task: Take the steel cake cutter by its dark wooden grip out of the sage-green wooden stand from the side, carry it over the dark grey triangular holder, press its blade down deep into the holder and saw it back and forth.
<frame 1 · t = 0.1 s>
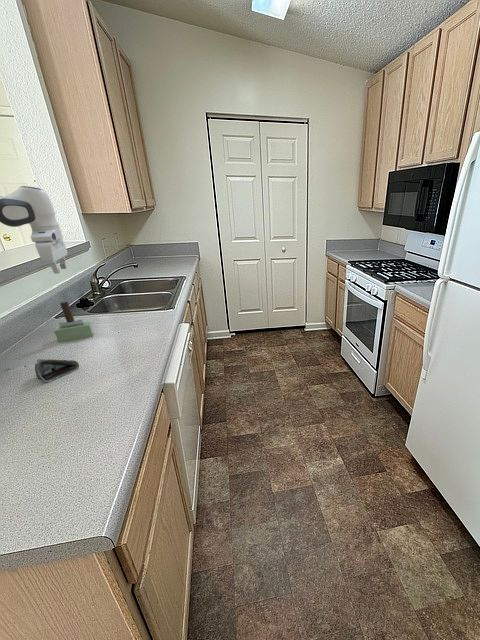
hand: (60, 270, 133), 26 cm above the counter, tool pointing down, fingers open, 8 cm apart
cake cutter: (76, 337, 136), point 1 cm above the counter, touching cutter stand
dark grey triangular holder: (56, 373, 111), on the counter
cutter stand: (77, 339, 136), on the counter
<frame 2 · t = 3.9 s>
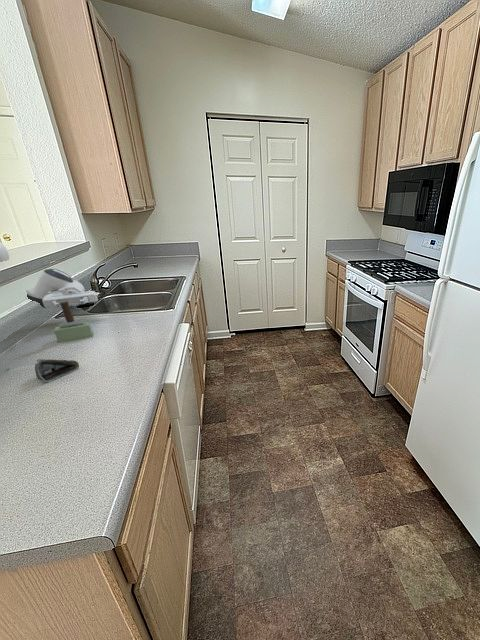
hand: (69, 303, 140), 12 cm above the counter, tool horizontal, fingers open, 8 cm apart
nothing on the counter moved.
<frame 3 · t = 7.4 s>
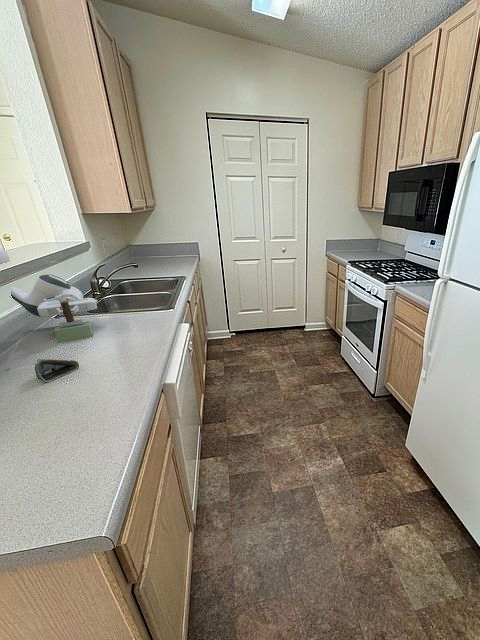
hand: (67, 312, 130), 12 cm above the counter, tool horizontal, fingers closed on cake cutter, 2 cm apart
cake cutter: (76, 337, 136), point 1 cm above the counter, touching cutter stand, gripper
everything else where it was.
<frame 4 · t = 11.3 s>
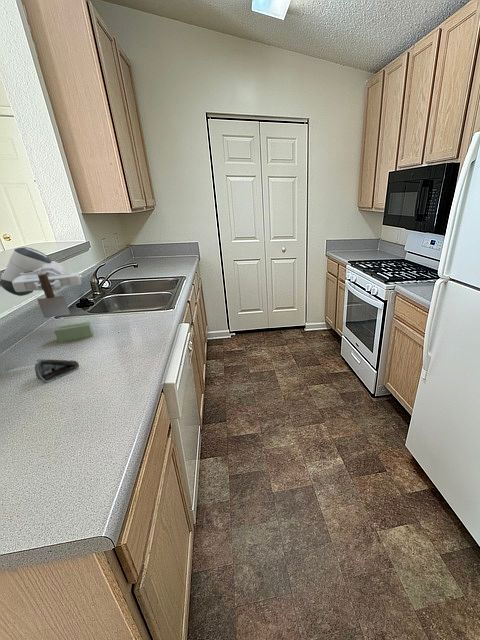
hand: (46, 286, 115), 25 cm above the counter, tool horizontal, fingers closed on cake cutter, 2 cm apart
cake cutter: (57, 316, 120), point 14 cm above the counter, touching gripper
everything else where it was.
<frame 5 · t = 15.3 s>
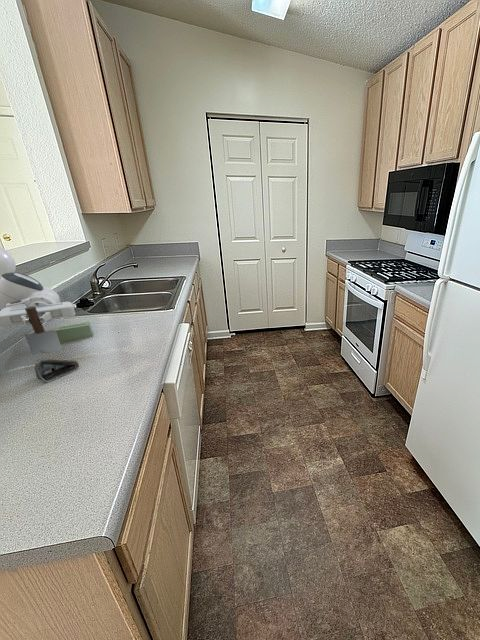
hand: (34, 321, 101), 19 cm above the counter, tool horizontal, fingers closed on cake cutter, 2 cm apart
cake cutter: (48, 352, 107), point 8 cm above the counter, touching gripper
everything else where it was.
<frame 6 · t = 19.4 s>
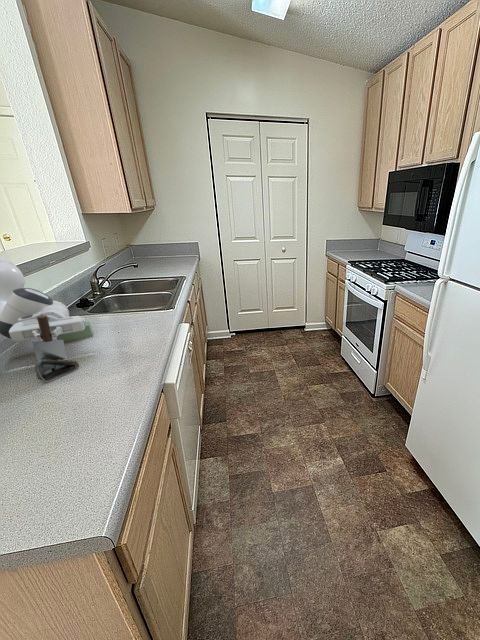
hand: (45, 336, 104), 14 cm above the counter, tool horizontal, fingers closed on cake cutter, 3 cm apart
cake cutter: (52, 360, 109), point 5 cm above the counter, tilted 7°, touching dark grey triangular holder, gripper
dark grey triangular holder: (56, 373, 111), on the counter, touching cake cutter
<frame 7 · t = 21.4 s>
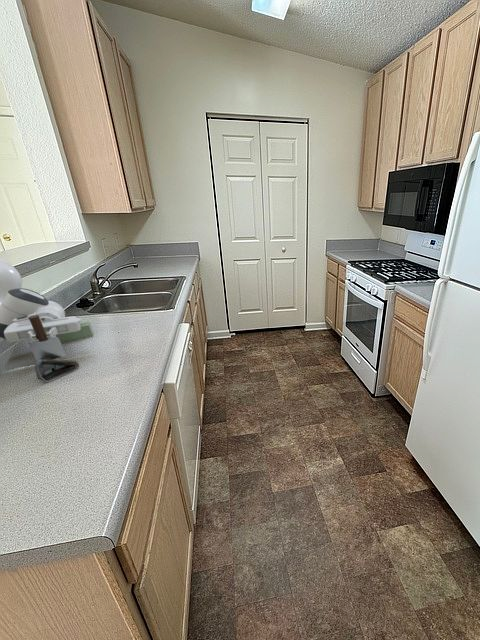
hand: (41, 336, 104), 14 cm above the counter, tool horizontal, fingers closed on cake cutter, 2 cm apart
cake cutter: (51, 359, 109), point 5 cm above the counter, touching dark grey triangular holder, gripper
everything else where it was.
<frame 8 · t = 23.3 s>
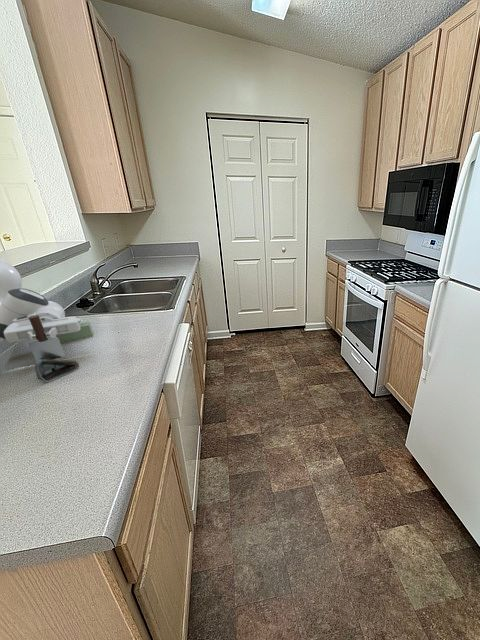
hand: (41, 337, 104), 13 cm above the counter, tool horizontal, fingers closed on cake cutter, 2 cm apart
cake cutter: (51, 359, 109), point 5 cm above the counter, touching dark grey triangular holder, gripper
everything else where it was.
at the end: cake cutter 0.5 cm off-centre in the dark grey triangular holder, point 5.2 cm above the dark grey triangular holder's base; the gripper is holding cake cutter; dark grey triangular holder moved 0.2 cm from its start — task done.
